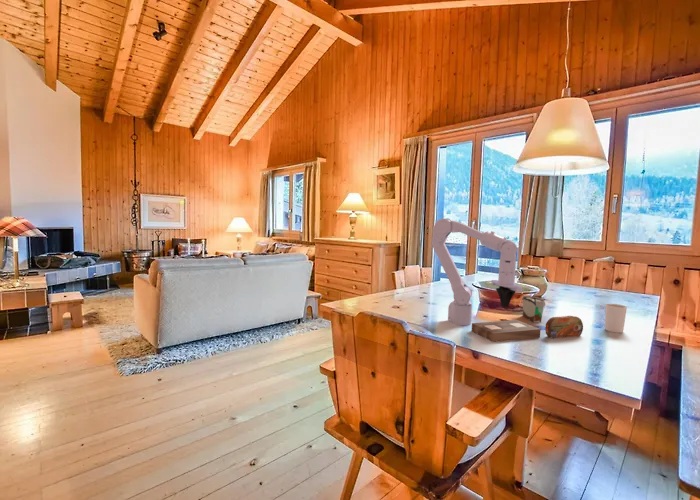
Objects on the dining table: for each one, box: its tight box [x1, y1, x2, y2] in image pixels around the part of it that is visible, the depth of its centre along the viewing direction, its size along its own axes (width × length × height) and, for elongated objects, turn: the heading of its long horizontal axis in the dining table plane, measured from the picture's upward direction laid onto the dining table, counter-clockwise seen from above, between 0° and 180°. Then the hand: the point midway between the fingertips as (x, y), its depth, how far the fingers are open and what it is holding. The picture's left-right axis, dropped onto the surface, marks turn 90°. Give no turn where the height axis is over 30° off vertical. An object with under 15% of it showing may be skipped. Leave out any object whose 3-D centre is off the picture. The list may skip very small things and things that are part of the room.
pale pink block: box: [484, 325, 502, 330], centre depth 126 cm, size 4×4×3 cm
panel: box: [471, 319, 542, 343], centre depth 128 cm, size 12×20×4 cm, turn 106°
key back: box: [510, 323, 527, 328], centre depth 129 cm, size 4×4×3 cm
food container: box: [521, 295, 546, 324], centre depth 147 cm, size 12×6×10 cm, turn 179°
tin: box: [544, 315, 584, 340], centre depth 126 cm, size 15×3×8 cm, turn 105°
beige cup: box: [604, 303, 628, 334], centre depth 137 cm, size 7×7×10 cm
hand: (504, 306), depth 134 cm, fingers closed
